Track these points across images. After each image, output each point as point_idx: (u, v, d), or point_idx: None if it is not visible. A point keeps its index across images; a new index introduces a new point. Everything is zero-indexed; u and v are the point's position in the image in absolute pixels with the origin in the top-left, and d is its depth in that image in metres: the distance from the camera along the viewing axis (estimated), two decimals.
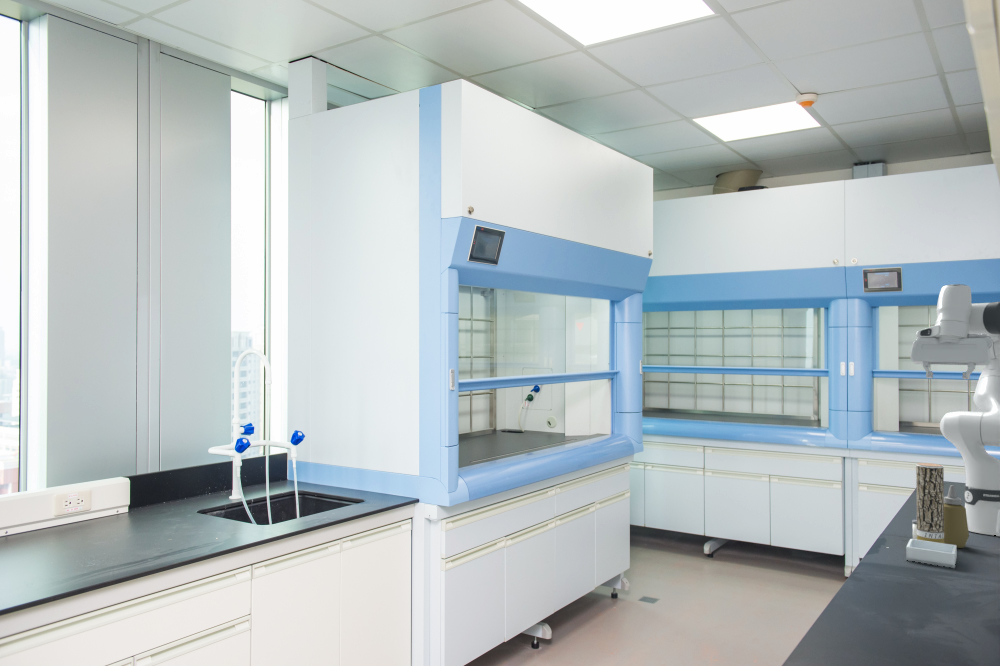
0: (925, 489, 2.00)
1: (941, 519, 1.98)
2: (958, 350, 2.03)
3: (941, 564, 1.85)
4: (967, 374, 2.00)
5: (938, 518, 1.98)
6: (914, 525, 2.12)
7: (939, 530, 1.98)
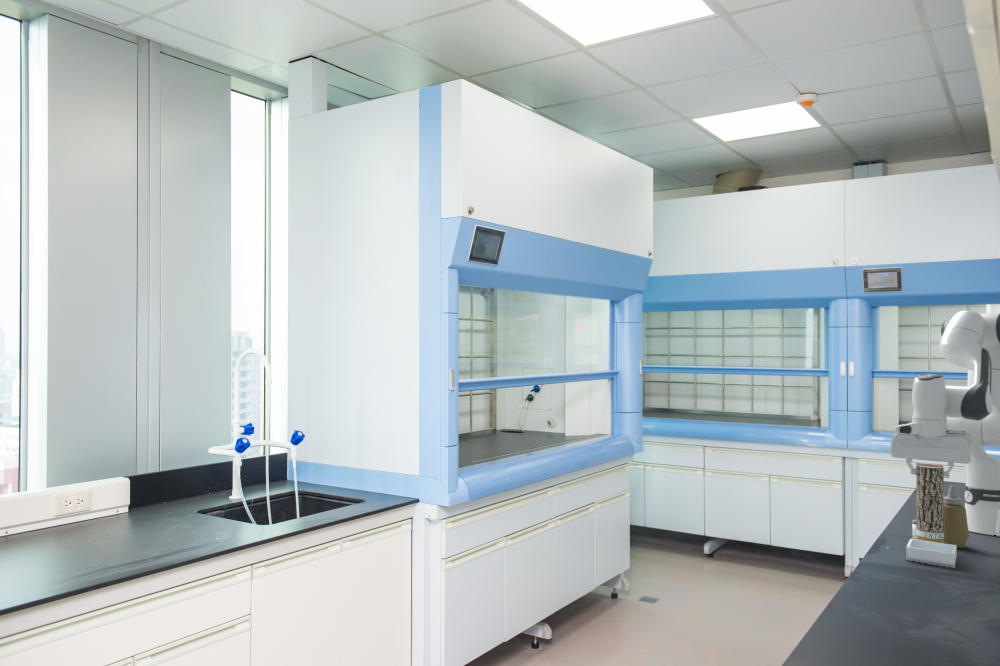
0: (925, 489, 2.00)
1: (941, 519, 1.98)
2: (940, 449, 1.99)
3: (941, 564, 1.85)
4: (948, 474, 1.99)
5: (938, 518, 1.98)
6: (914, 525, 2.12)
7: (939, 530, 1.98)
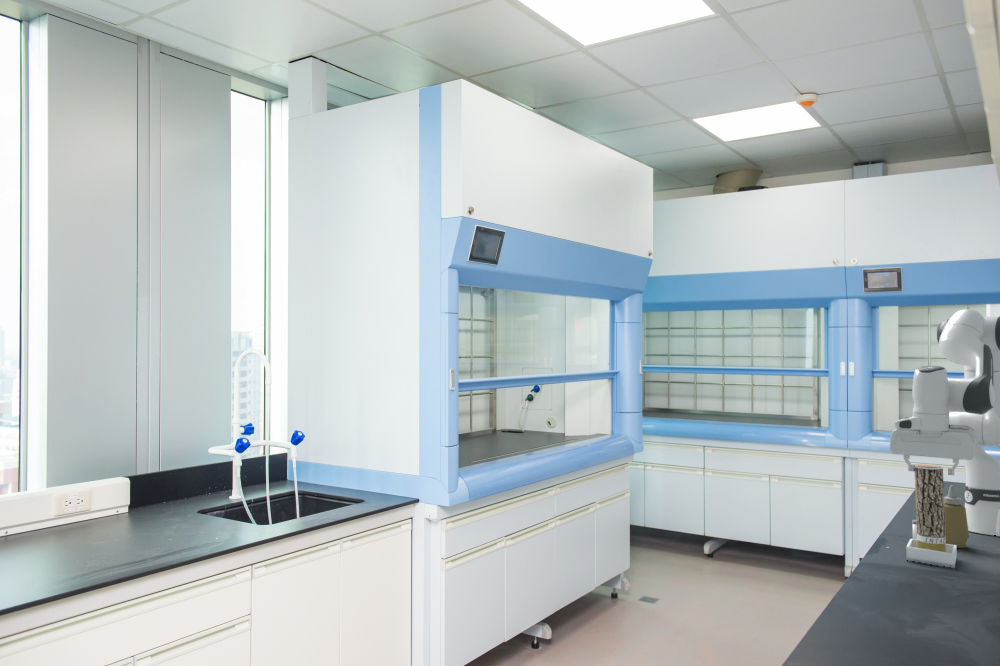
0: (924, 491, 1.91)
1: (942, 523, 1.89)
2: (941, 444, 1.89)
3: (941, 564, 1.85)
4: (953, 471, 1.88)
5: (939, 522, 1.89)
6: (914, 525, 2.12)
7: (940, 534, 1.89)
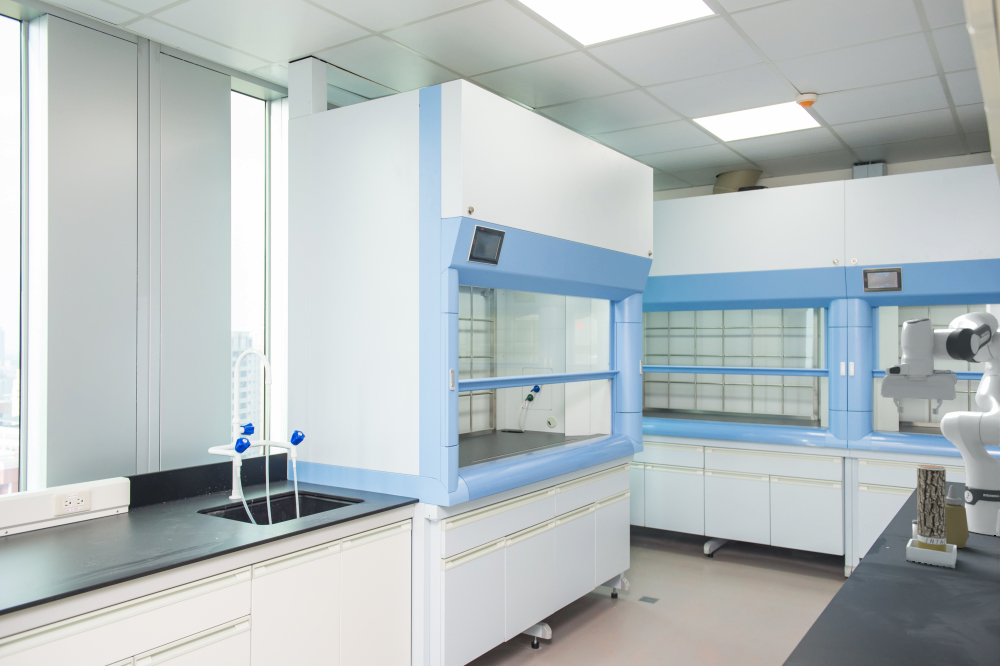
0: (926, 492, 1.90)
1: (943, 524, 1.89)
2: (927, 387, 2.12)
3: (941, 564, 1.85)
4: (937, 411, 2.11)
5: (940, 523, 1.89)
6: (914, 525, 2.12)
7: (941, 535, 1.89)
